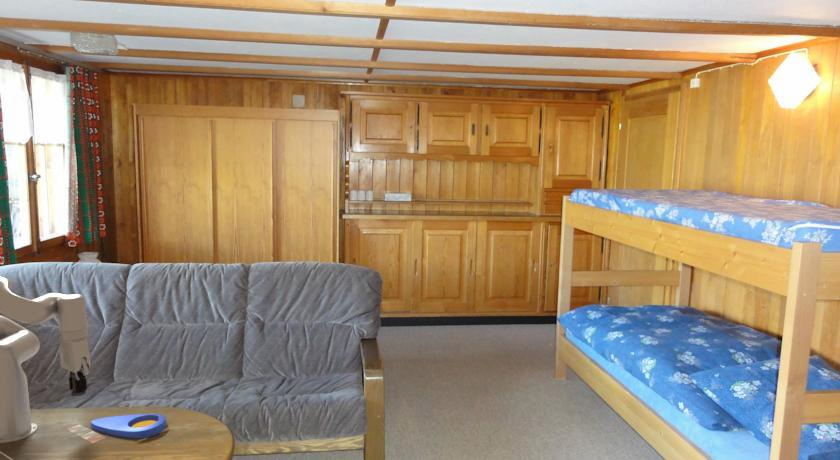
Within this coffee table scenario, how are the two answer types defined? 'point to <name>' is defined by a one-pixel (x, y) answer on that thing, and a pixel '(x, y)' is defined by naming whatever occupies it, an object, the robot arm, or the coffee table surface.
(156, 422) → the location marker
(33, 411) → the coffee table surface
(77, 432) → the board
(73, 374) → the pawn
